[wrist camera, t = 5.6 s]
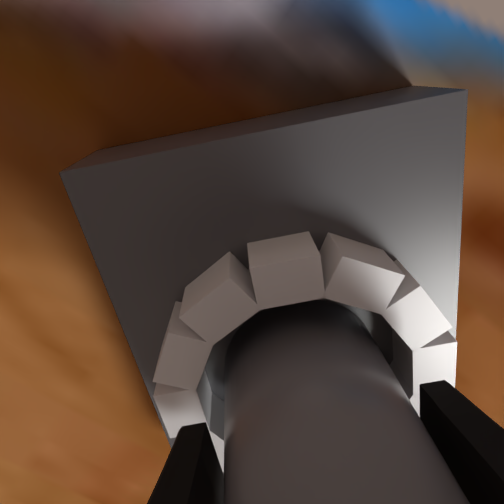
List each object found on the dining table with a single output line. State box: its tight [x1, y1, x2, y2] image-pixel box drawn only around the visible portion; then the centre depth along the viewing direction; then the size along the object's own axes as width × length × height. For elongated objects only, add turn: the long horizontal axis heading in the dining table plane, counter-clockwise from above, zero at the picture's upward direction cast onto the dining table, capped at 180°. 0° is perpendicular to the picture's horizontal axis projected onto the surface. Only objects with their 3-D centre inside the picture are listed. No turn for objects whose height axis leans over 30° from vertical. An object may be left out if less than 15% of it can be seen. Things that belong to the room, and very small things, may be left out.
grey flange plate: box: [59, 86, 468, 474], centre depth 13 cm, size 10×14×4 cm
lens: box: [224, 299, 470, 504], centre depth 9 cm, size 5×5×7 cm
